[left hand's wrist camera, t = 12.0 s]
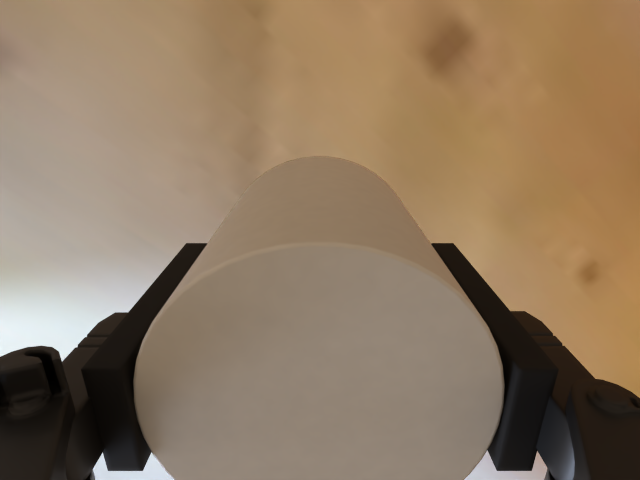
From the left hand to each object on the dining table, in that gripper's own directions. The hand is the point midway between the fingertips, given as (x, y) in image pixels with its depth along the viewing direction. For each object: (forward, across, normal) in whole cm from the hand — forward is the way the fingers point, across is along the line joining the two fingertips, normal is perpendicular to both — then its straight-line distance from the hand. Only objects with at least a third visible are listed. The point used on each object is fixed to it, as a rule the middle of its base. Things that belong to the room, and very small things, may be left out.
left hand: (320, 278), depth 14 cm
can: (+3, 0, 0) cm, 3 cm away
